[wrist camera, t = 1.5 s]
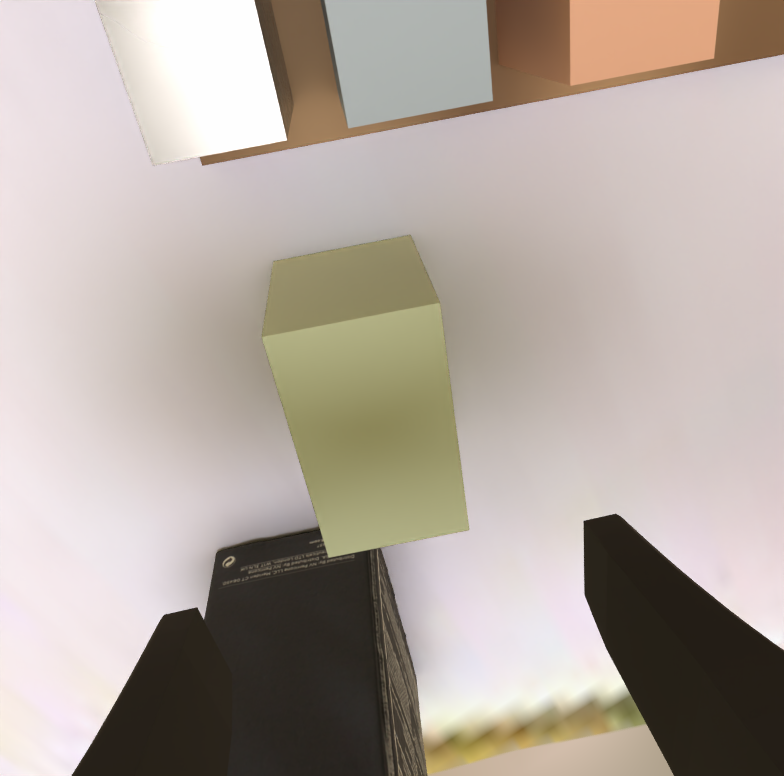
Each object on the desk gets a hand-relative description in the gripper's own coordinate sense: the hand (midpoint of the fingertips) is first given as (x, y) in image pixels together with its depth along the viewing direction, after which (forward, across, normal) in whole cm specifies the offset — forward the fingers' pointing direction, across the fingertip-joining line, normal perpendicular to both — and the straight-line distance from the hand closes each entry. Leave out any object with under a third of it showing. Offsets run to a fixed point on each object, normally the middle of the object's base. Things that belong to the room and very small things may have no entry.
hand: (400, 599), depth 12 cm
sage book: (+10, 0, 0) cm, 10 cm away
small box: (+10, +4, +12) cm, 16 cm away
